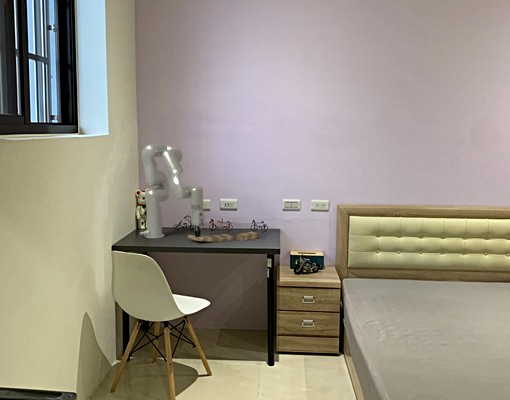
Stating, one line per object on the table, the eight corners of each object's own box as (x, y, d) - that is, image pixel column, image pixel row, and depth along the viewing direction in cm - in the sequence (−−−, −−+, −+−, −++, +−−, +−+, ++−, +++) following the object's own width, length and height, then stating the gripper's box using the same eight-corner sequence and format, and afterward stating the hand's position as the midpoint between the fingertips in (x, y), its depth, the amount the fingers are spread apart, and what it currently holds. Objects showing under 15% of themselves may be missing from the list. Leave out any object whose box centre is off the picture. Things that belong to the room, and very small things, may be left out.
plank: (197, 240, 348) (197, 238, 348) (187, 237, 358) (188, 234, 358) (216, 241, 356) (217, 239, 356) (207, 238, 366) (207, 235, 366)
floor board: (217, 241, 357) (217, 239, 356) (207, 238, 366) (207, 236, 366) (236, 239, 364) (236, 236, 364) (226, 236, 374) (226, 233, 374)
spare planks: (242, 240, 360) (242, 235, 359) (235, 239, 364) (235, 234, 364) (259, 237, 370) (259, 233, 370) (252, 236, 375) (252, 231, 374)
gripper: (208, 208, 348) (209, 237, 350) (196, 205, 360) (197, 234, 363) (197, 209, 344) (198, 239, 346) (186, 206, 356) (186, 235, 359)
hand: (197, 236), depth 354 cm, fingers closed
